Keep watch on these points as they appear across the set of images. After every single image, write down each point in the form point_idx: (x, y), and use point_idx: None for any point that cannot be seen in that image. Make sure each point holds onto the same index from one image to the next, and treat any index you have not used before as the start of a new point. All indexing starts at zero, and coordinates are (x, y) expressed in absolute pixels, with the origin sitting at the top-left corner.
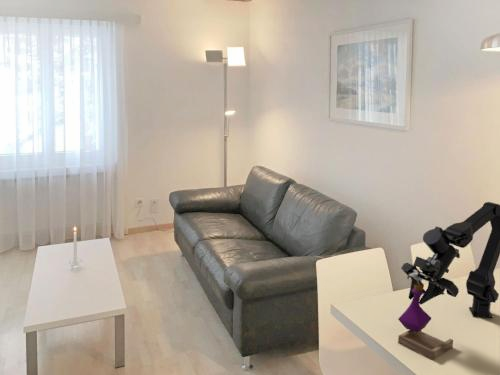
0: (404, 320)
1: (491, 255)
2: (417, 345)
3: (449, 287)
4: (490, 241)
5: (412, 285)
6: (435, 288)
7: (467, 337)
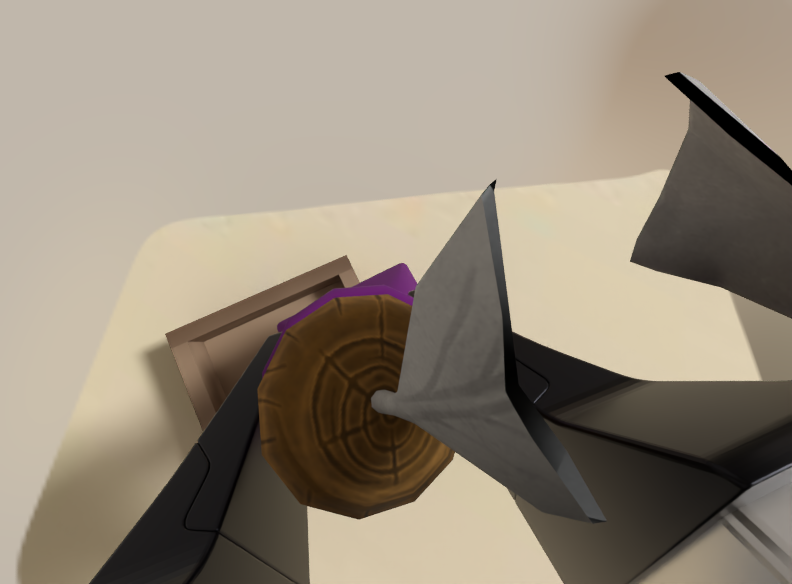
0: (368, 279)
1: None
2: (249, 298)
3: None
4: None
5: (522, 356)
6: None
7: None
